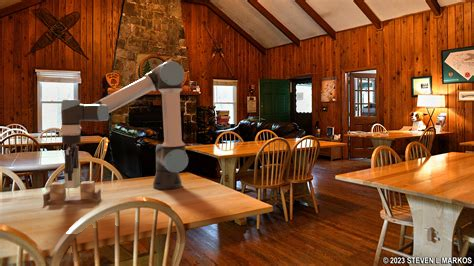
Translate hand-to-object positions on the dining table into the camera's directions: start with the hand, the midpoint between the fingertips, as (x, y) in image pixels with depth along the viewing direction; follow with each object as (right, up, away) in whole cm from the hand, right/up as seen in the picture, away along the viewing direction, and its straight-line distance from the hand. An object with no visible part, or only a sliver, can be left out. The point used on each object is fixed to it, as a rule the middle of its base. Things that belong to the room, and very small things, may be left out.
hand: (72, 186), depth 159 cm
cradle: (0, -7, +1) cm, 7 cm away
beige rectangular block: (0, 0, 0) cm, 0 cm away
